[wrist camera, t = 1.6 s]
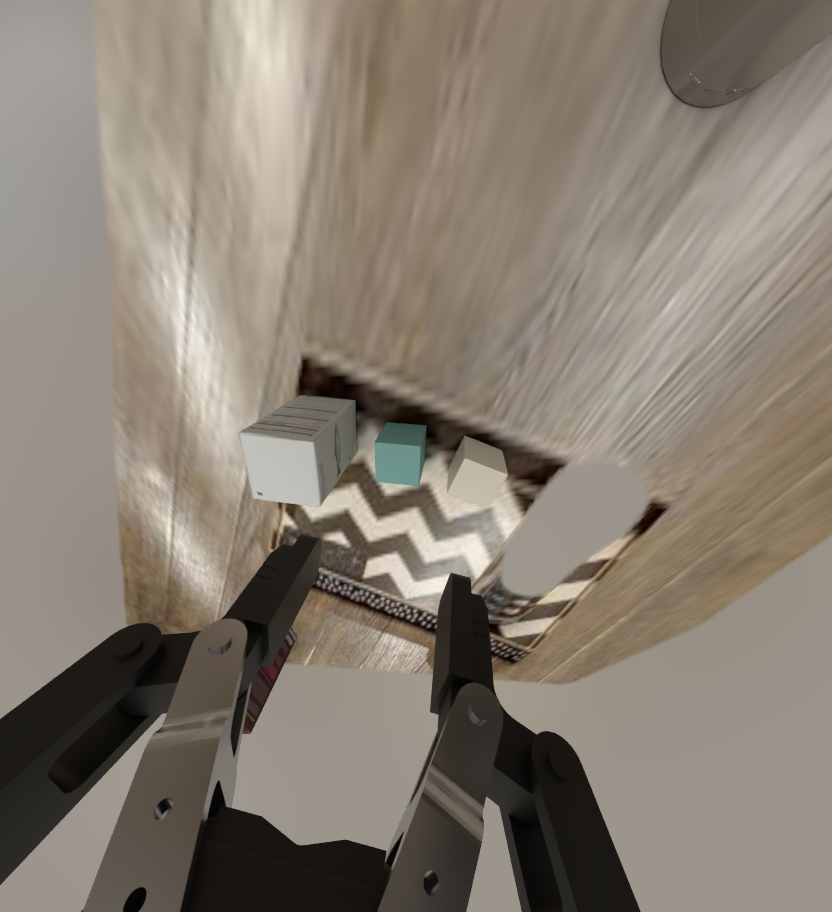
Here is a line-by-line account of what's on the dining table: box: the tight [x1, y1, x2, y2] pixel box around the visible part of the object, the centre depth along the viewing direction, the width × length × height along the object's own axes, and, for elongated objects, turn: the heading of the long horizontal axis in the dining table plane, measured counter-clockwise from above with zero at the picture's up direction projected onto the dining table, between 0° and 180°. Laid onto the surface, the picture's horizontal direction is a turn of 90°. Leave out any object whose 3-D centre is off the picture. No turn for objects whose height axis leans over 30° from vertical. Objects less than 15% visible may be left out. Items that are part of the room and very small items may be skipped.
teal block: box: [375, 422, 426, 486], centre depth 38 cm, size 5×5×6 cm
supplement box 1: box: [242, 628, 297, 734], centre depth 55 cm, size 9×5×16 cm, turn 12°
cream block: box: [447, 436, 508, 509], centre depth 37 cm, size 5×5×6 cm
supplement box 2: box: [238, 395, 357, 507], centre depth 35 cm, size 7×7×13 cm
